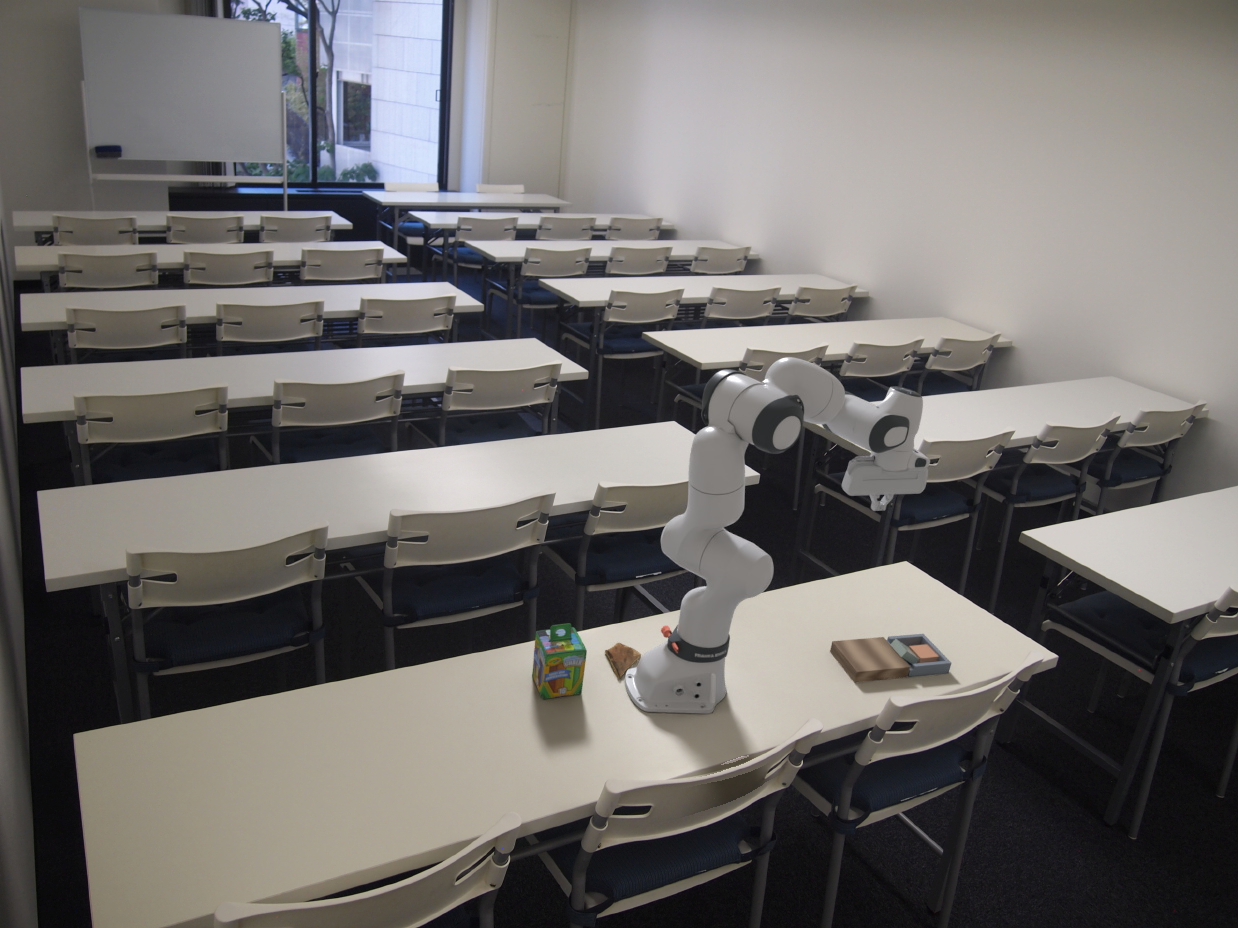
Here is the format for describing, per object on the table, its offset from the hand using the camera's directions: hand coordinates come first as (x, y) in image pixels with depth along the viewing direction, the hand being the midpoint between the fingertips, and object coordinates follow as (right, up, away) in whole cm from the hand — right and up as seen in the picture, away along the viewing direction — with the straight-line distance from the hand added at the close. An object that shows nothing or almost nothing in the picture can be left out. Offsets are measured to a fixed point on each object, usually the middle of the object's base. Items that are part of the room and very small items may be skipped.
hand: (877, 509), depth 214 cm
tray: (+11, -37, +7) cm, 39 cm away
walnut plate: (-1, -37, +3) cm, 37 cm away
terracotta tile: (+13, -34, +7) cm, 37 cm away
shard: (-59, -35, -5) cm, 69 cm away
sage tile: (+7, -35, +5) cm, 36 cm away
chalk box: (-74, -37, -15) cm, 84 cm away
